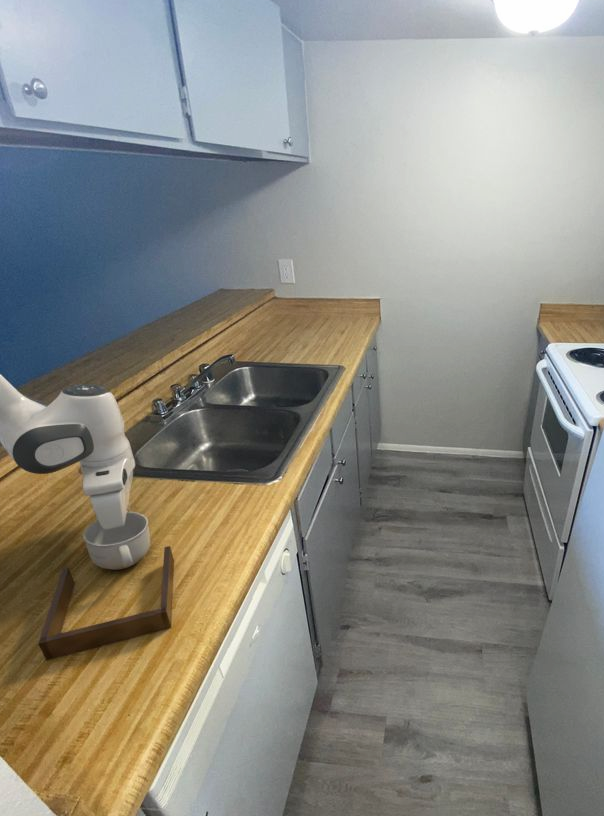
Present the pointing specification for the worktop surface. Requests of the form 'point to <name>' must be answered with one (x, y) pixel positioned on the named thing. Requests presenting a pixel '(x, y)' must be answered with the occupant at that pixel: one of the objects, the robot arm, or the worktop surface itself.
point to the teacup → (118, 542)
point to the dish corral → (106, 632)
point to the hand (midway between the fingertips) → (125, 518)
